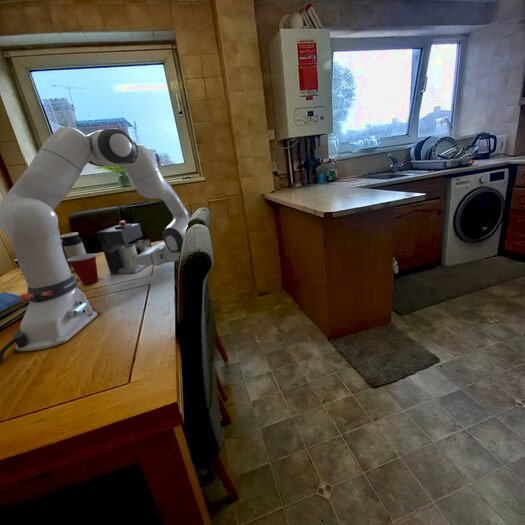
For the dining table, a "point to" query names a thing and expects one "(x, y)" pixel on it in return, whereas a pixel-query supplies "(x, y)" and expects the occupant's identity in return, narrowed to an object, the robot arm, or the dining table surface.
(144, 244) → the beverage carton
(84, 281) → the plastic cup
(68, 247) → the travel mug
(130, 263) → the creamer cup
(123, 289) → the dining table surface
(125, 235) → the coffee maker
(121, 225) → the brew button
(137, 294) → the dining table surface
